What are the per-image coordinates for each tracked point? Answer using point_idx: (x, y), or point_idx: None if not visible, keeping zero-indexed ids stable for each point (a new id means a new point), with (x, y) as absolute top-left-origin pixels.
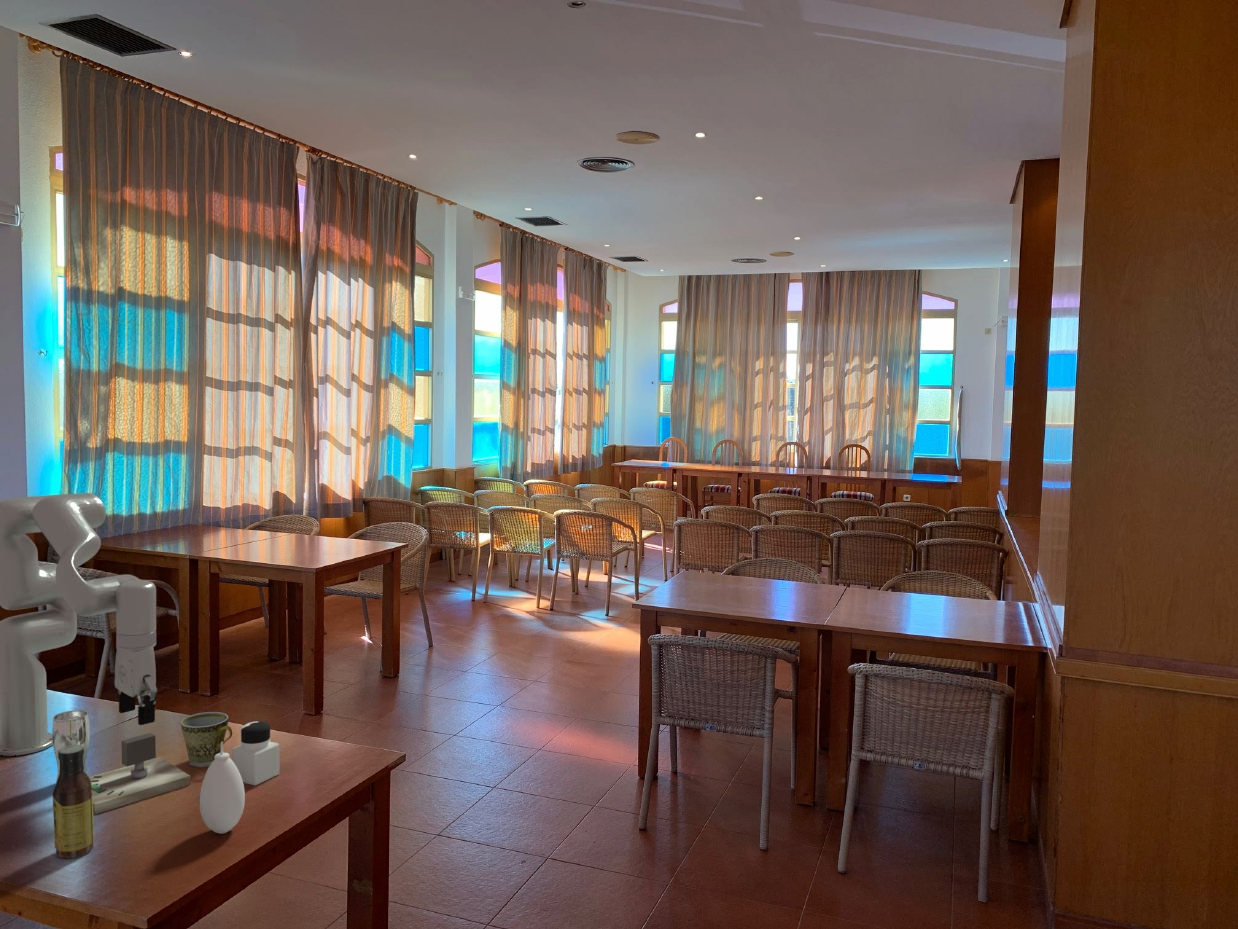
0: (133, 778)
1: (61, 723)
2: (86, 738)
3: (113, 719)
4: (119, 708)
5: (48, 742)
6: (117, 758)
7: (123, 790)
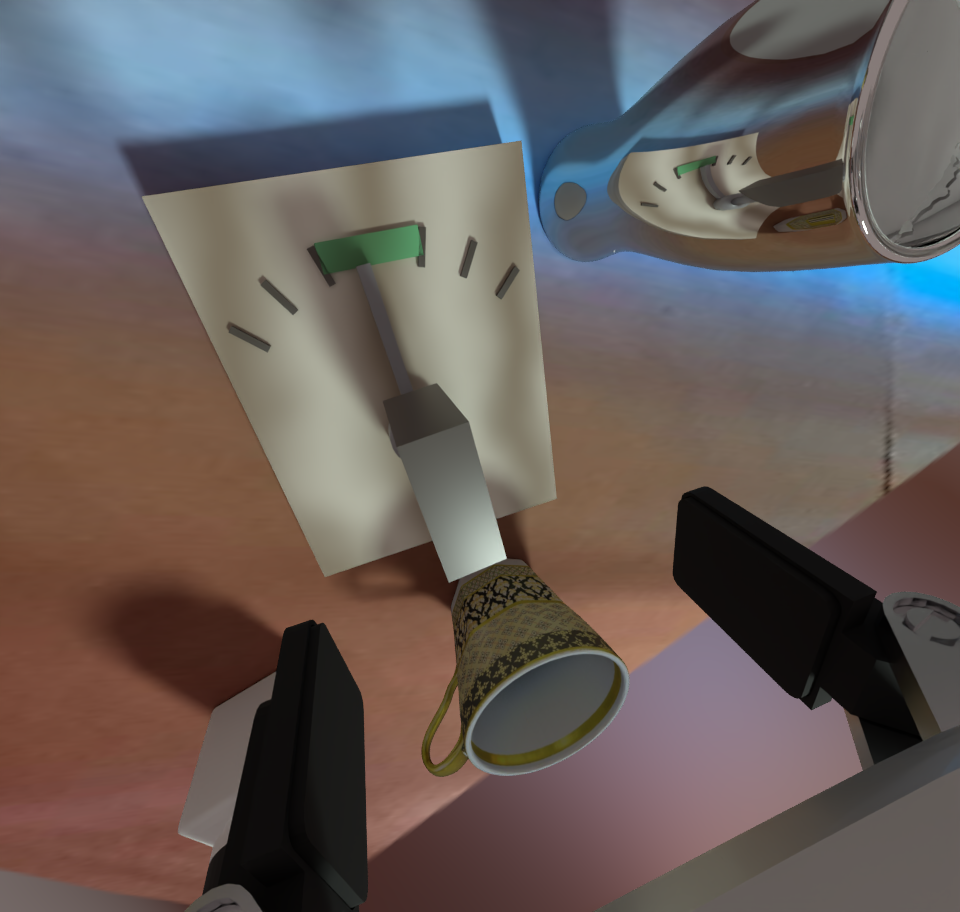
0: None
1: None
2: (681, 236)
3: (921, 405)
4: (724, 507)
5: None
6: (685, 380)
7: (289, 353)
